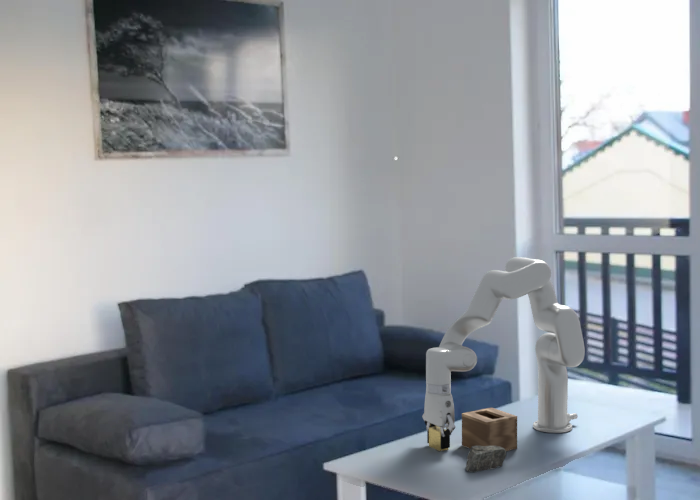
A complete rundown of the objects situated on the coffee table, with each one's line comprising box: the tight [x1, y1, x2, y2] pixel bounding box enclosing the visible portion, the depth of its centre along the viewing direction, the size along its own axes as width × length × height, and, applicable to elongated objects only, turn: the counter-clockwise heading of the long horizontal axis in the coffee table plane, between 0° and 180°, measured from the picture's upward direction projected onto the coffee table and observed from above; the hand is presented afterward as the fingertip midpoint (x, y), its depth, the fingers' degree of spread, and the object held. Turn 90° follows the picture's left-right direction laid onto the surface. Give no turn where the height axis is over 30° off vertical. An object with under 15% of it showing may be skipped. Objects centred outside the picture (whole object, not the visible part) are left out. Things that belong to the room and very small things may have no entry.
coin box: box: [461, 407, 518, 452], centre depth 281 cm, size 12×12×10 cm
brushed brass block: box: [428, 426, 449, 452], centre depth 281 cm, size 3×6×6 cm, turn 31°
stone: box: [465, 445, 507, 473], centre depth 263 cm, size 14×7×10 cm, turn 128°
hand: (438, 444), depth 282 cm, fingers closed on brushed brass block, 5 cm apart
